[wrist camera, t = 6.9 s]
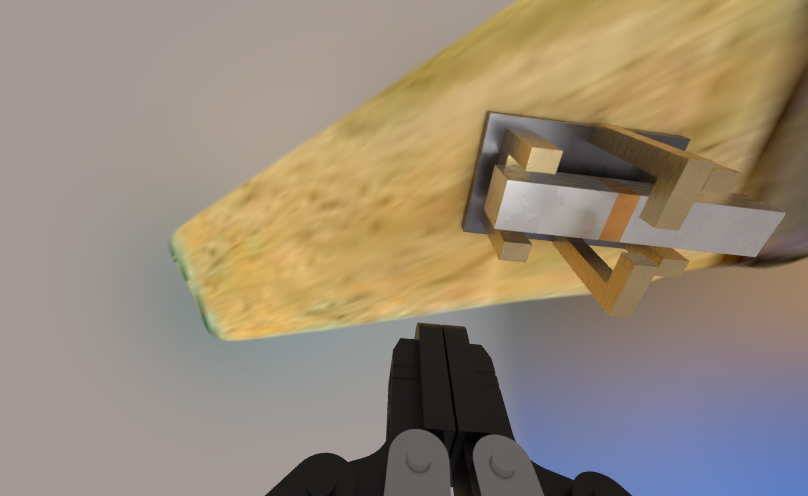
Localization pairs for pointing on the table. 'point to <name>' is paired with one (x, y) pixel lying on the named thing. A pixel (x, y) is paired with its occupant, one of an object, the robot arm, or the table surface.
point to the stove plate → (573, 160)
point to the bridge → (662, 210)
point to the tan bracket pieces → (545, 158)
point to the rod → (623, 212)
